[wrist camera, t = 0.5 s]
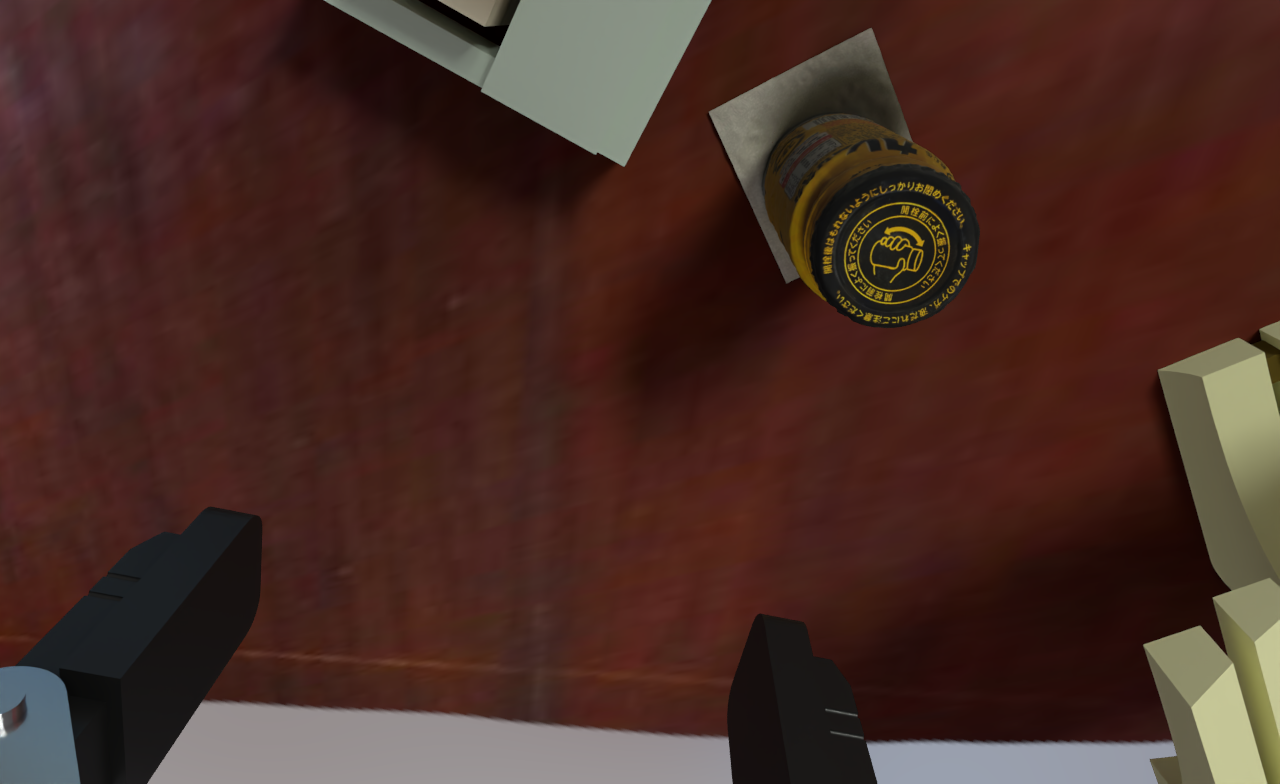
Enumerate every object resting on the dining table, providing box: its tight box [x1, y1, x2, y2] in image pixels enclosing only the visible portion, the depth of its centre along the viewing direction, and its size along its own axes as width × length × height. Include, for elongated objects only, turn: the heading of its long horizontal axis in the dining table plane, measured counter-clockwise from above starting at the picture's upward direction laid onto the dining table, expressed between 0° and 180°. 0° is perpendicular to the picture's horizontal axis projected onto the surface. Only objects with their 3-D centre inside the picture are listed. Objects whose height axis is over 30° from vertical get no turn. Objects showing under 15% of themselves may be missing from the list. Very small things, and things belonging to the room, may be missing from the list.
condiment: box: [709, 28, 980, 328], centre depth 31 cm, size 7×8×12 cm
